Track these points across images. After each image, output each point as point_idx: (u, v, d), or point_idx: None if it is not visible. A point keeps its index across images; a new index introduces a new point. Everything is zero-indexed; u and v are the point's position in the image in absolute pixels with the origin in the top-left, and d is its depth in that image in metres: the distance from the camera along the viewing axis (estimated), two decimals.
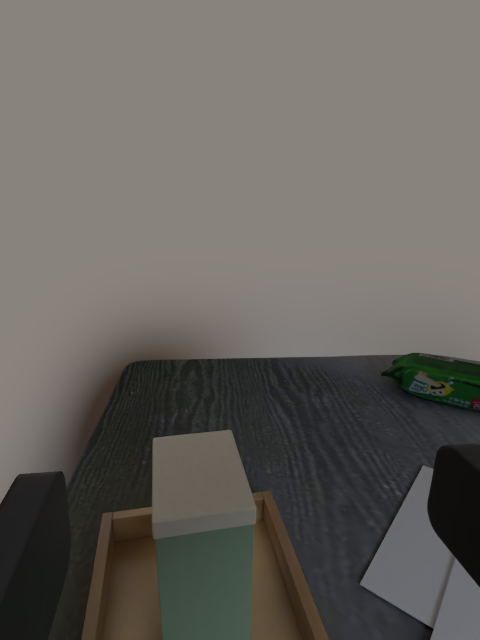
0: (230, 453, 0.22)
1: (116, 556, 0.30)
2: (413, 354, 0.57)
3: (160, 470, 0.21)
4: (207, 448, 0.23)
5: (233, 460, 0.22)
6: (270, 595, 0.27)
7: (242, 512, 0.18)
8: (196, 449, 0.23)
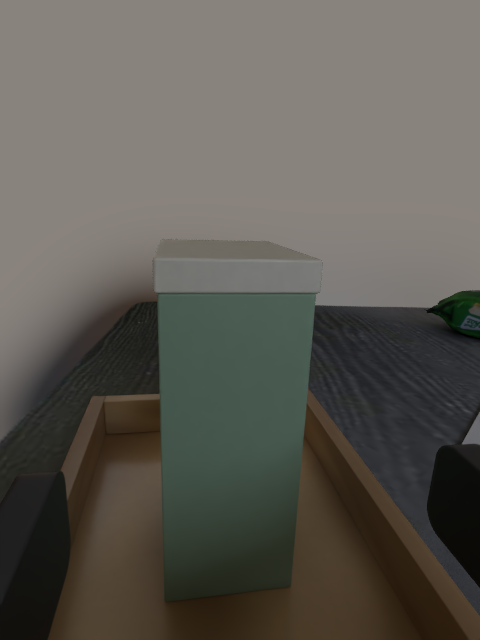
0: (272, 246, 0.15)
1: (106, 447, 0.23)
2: (464, 291, 0.49)
3: (169, 246, 0.14)
4: (238, 243, 0.16)
5: (277, 247, 0.15)
6: (313, 494, 0.19)
7: (300, 265, 0.11)
8: (221, 243, 0.16)
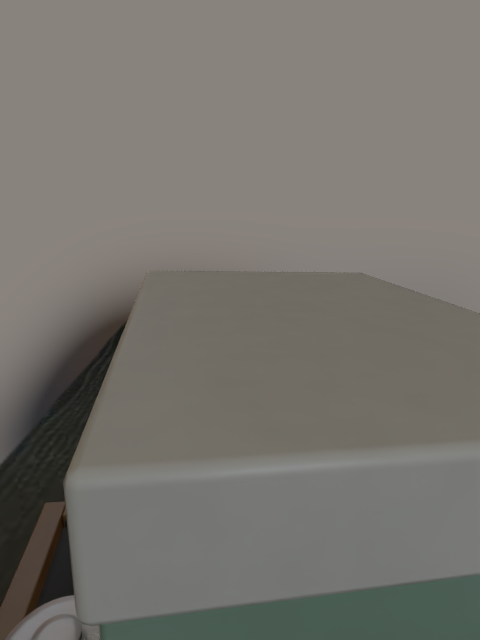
0: (401, 293, 0.07)
1: None
2: None
3: (163, 305, 0.05)
4: (317, 285, 0.07)
5: (427, 302, 0.06)
6: None
7: None
8: (281, 285, 0.07)
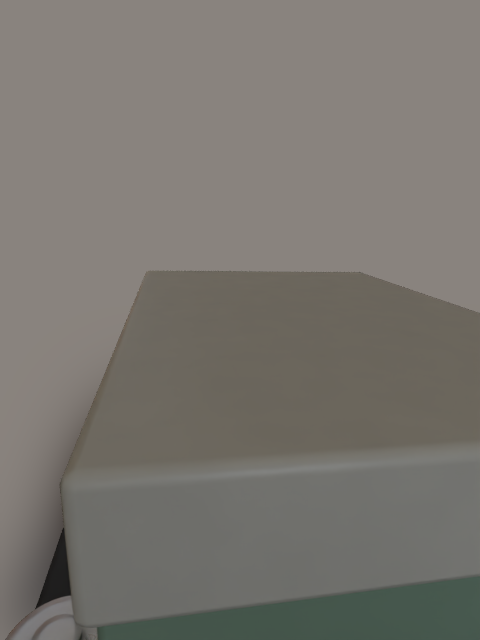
0: (400, 293, 0.07)
1: None
2: None
3: (162, 306, 0.05)
4: (316, 285, 0.07)
5: (427, 302, 0.06)
6: None
7: None
8: (280, 284, 0.07)
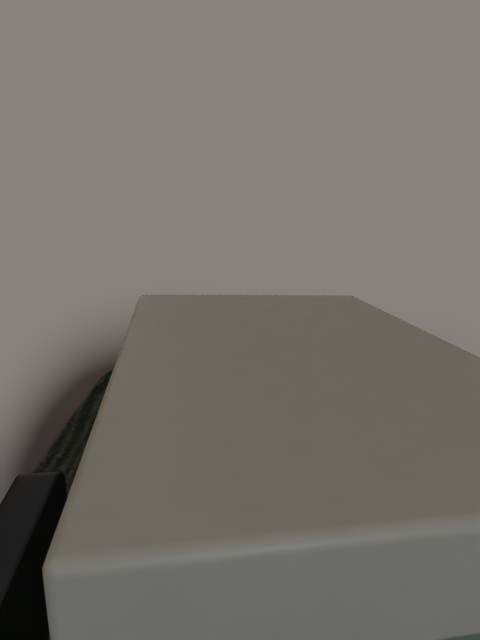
0: (388, 324, 0.07)
1: None
2: None
3: (152, 342, 0.05)
4: (306, 314, 0.07)
5: (413, 335, 0.06)
6: None
7: None
8: (271, 313, 0.07)
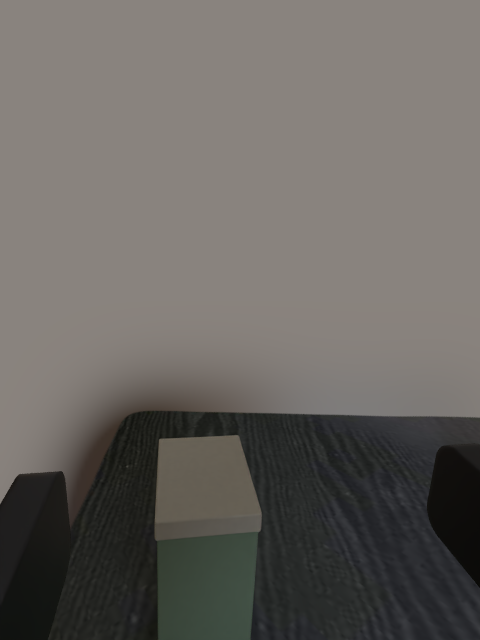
0: (237, 458, 0.22)
1: None
2: None
3: (165, 471, 0.21)
4: (213, 452, 0.22)
5: (240, 465, 0.21)
6: None
7: (247, 518, 0.18)
8: (202, 452, 0.22)
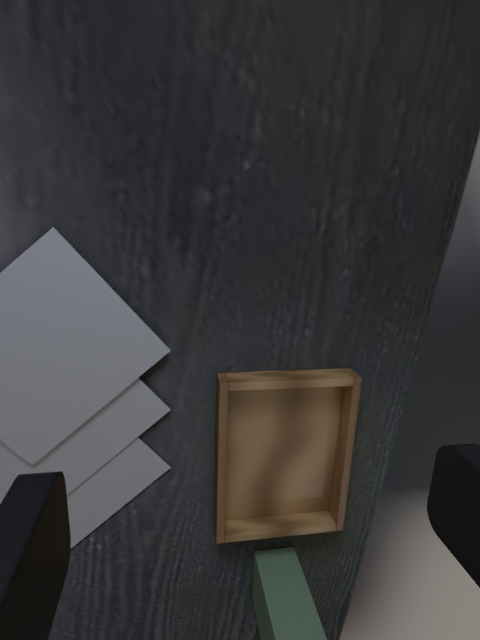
0: None
1: (327, 500, 0.44)
2: None
3: None
4: None
5: None
6: (234, 466, 0.41)
7: None
8: None
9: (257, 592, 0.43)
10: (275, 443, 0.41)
